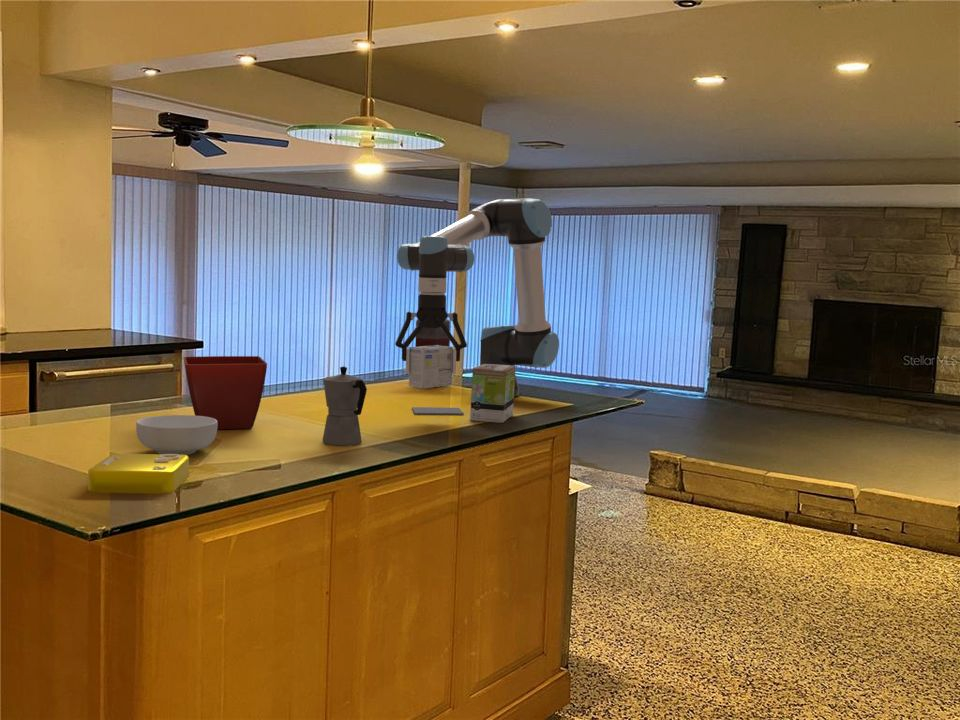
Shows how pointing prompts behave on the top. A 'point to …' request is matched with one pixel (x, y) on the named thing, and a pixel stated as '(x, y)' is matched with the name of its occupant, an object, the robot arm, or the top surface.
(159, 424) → the cereal bowl
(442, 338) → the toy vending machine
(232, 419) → the plant pot
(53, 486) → the top surface
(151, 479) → the element tile
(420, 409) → the rubber mat
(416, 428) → the top surface
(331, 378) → the coffeepot
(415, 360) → the light bulb box
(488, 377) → the tea box
